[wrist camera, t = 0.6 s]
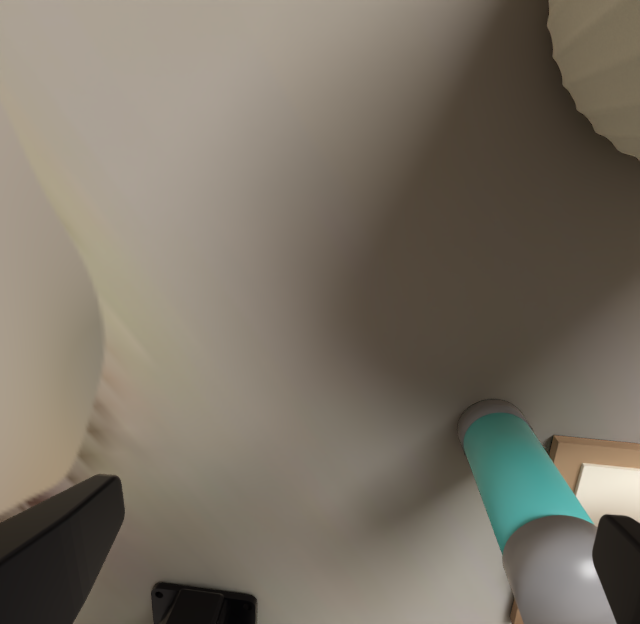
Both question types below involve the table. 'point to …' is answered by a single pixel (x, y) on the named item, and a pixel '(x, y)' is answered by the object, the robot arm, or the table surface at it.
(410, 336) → the table surface
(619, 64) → the canister
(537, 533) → the marker
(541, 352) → the table surface
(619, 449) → the clipboard
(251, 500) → the table surface
